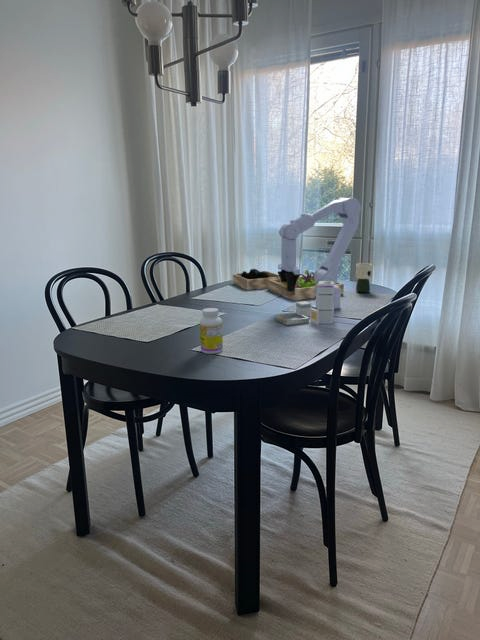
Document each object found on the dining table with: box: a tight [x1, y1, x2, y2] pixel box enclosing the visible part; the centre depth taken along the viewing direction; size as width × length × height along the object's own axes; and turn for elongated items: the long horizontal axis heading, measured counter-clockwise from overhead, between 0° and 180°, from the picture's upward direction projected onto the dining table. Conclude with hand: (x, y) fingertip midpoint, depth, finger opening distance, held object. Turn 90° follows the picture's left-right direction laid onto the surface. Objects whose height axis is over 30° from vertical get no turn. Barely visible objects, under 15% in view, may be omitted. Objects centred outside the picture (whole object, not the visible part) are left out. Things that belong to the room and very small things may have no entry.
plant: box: [295, 269, 316, 289], centre depth 219 cm, size 20×20×11 cm
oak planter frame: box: [267, 274, 345, 301], centre depth 221 cm, size 26×26×5 cm
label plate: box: [309, 307, 320, 326], centre depth 169 cm, size 1×5×5 cm, turn 23°
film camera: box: [241, 268, 270, 280], centre depth 237 cm, size 15×10×9 cm, turn 68°
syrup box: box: [316, 281, 335, 325], centre depth 170 cm, size 6×6×14 cm
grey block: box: [295, 300, 312, 317], centre depth 180 cm, size 4×4×5 cm
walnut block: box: [281, 281, 295, 297], centre depth 186 cm, size 4×4×5 cm
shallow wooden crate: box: [232, 270, 280, 291], centre depth 240 cm, size 20×20×5 cm
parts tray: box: [274, 312, 310, 327], centre depth 173 cm, size 9×9×2 cm
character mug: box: [355, 262, 373, 293], centre depth 218 cm, size 11×7×13 cm, turn 153°
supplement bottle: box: [199, 307, 224, 355], centre depth 141 cm, size 7×7×13 cm
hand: (288, 290), depth 186 cm, fingers closed on walnut block, 4 cm apart
